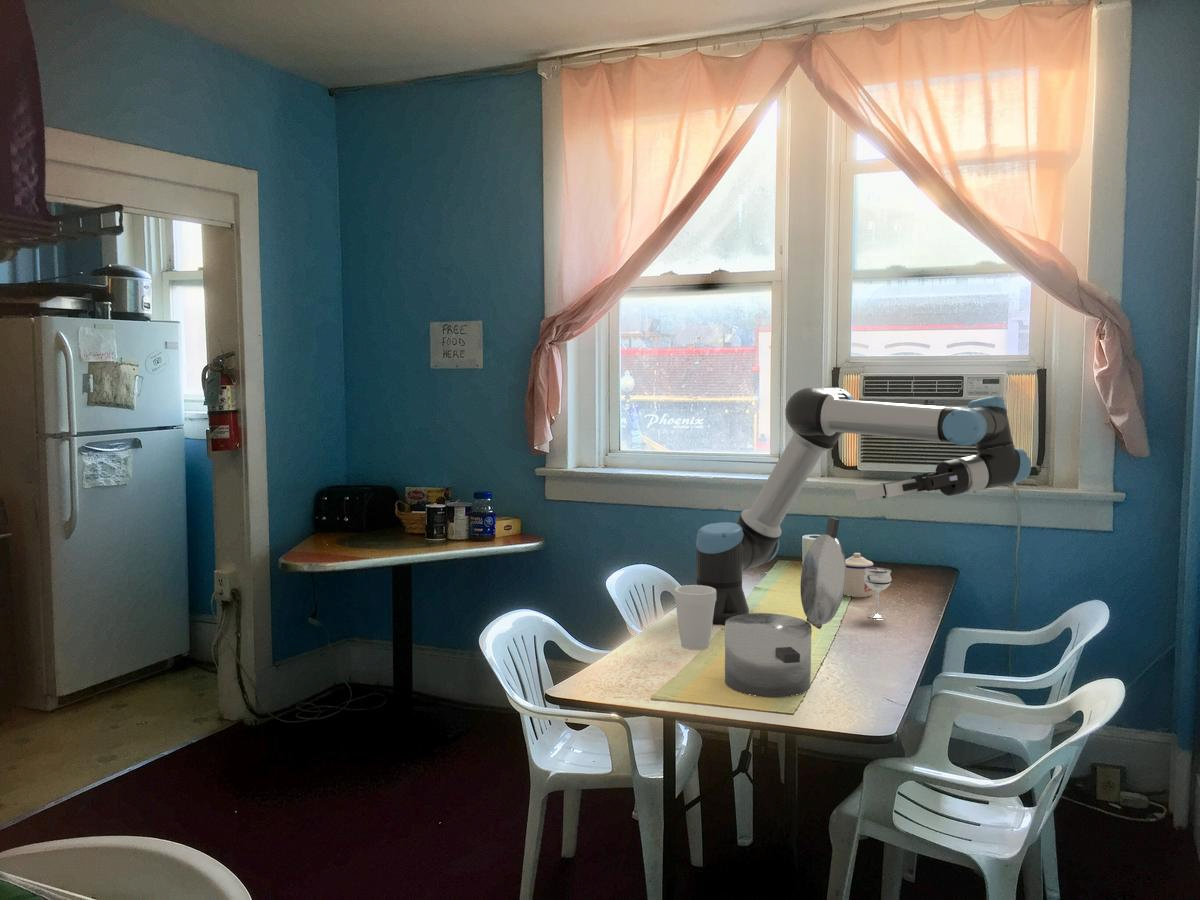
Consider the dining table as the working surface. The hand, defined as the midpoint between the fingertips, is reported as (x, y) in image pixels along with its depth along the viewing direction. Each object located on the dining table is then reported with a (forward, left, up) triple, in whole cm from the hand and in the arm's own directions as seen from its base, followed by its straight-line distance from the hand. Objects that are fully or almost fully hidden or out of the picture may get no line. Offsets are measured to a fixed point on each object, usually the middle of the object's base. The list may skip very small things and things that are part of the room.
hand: (870, 492), depth 195 cm
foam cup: (-37, -6, -37) cm, 53 cm away
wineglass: (-7, +40, -37) cm, 55 cm away
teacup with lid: (-18, +63, -37) cm, 75 cm away
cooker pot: (-14, -22, -37) cm, 45 cm away
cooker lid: (-6, -15, -15) cm, 22 cm away
